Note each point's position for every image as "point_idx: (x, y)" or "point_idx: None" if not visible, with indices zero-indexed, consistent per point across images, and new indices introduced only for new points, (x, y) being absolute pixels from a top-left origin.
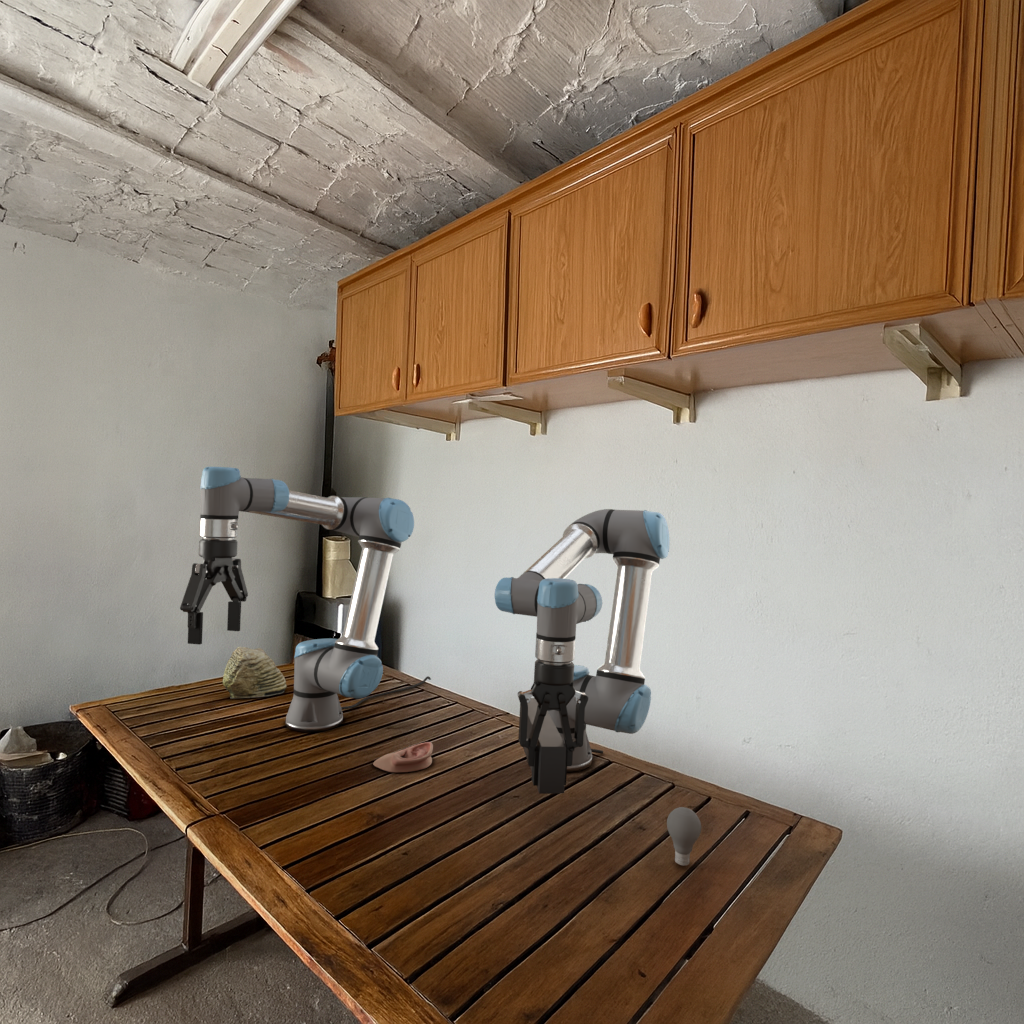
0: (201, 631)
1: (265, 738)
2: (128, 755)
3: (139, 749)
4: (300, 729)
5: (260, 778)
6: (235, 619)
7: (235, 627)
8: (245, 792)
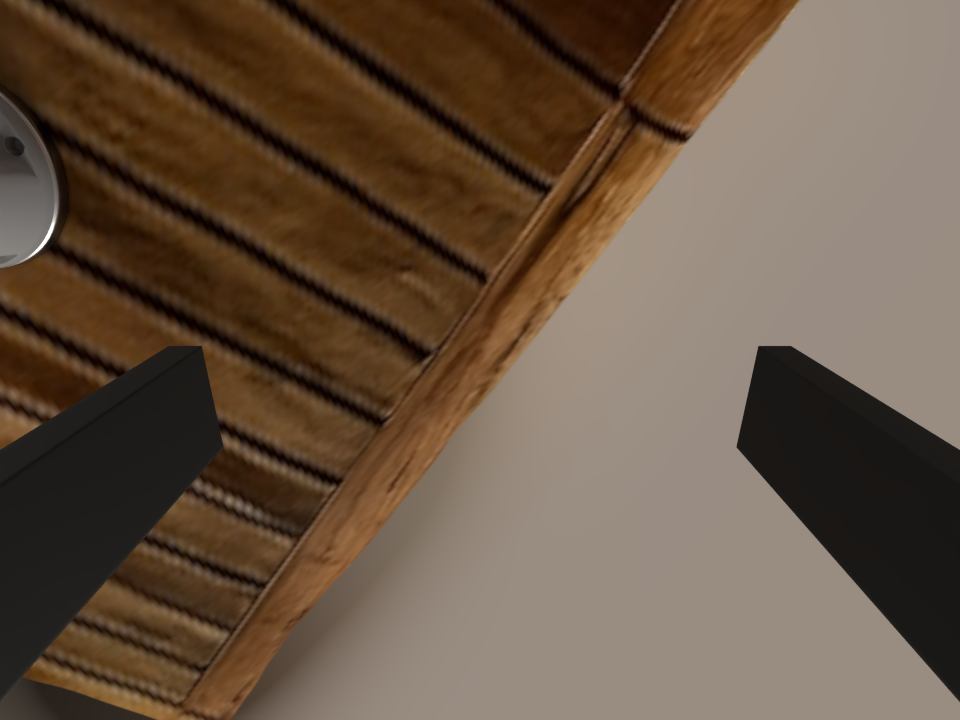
0: (850, 394)
1: (163, 255)
2: (392, 497)
3: (357, 498)
4: (59, 174)
5: (409, 109)
6: (137, 433)
7: (188, 388)
8: (499, 100)
